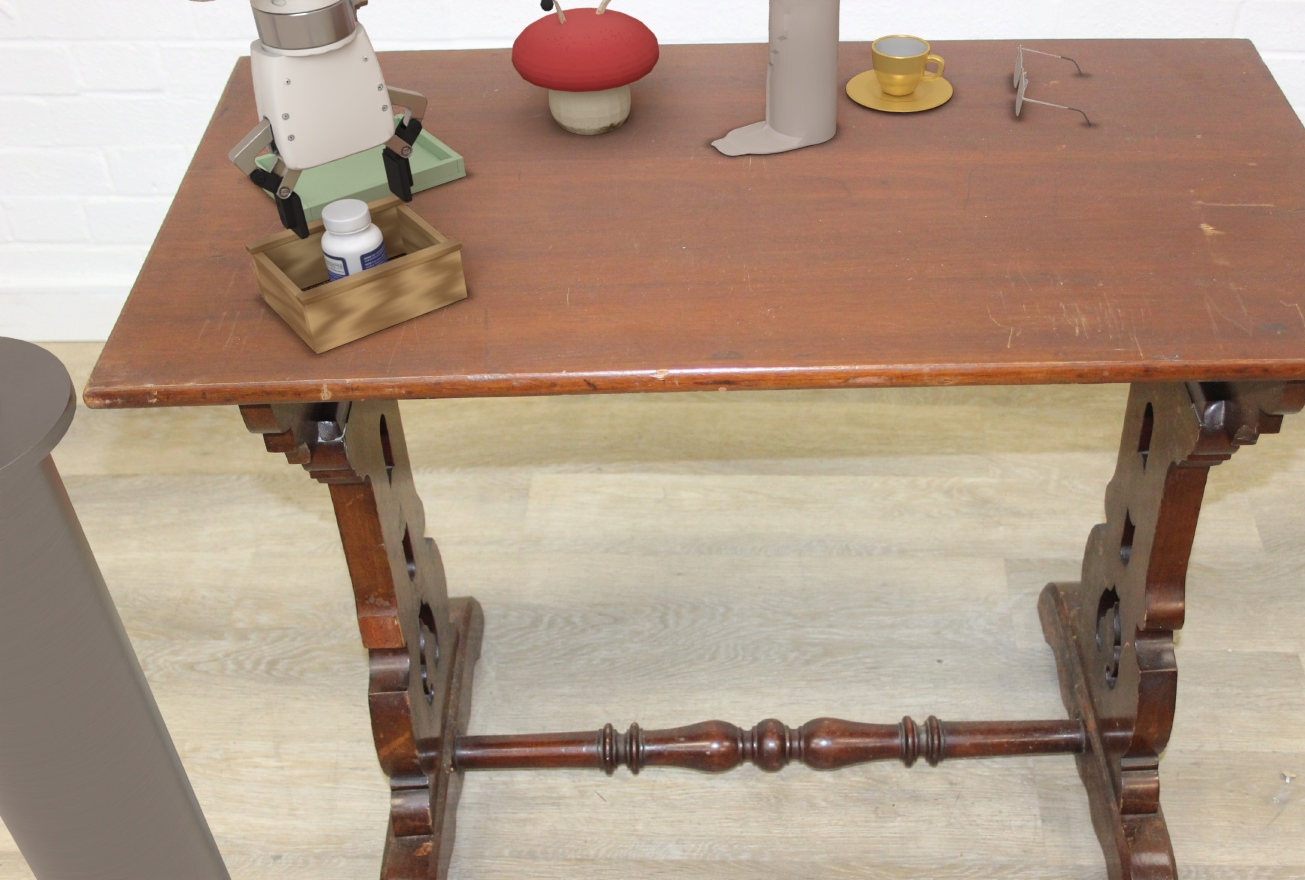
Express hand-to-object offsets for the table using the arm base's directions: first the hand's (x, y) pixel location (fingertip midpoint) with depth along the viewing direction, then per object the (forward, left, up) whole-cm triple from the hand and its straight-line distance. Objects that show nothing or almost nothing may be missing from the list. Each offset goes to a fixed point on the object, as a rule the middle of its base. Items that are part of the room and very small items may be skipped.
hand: (351, 214), depth 121 cm
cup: (+67, +2, -9) cm, 67 cm away
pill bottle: (0, 0, -9) cm, 9 cm away
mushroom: (+36, +18, -9) cm, 41 cm away
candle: (+49, +2, -9) cm, 49 cm away
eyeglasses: (+79, -10, -9) cm, 80 cm away
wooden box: (0, 0, -8) cm, 8 cm away
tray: (+10, +22, -8) cm, 25 cm away
